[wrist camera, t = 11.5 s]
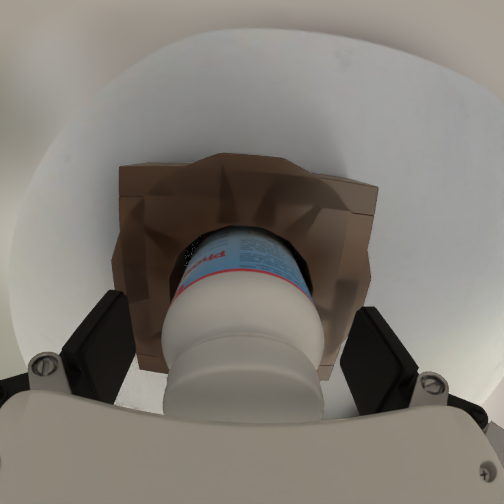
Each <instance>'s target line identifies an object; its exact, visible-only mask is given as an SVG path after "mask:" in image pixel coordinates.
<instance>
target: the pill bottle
mask: <svg viewBox="0 0 504 504" xmlns="http://www.w3.org/2000/svg"><path fill="white" fill-rule="evenodd" d="M161 342H162V350H163V355H164V358H165V361H166V363H167V366H168V368H169V373H168V377H167V386H166V389H165V393H164V398H163V412H164V415H168V416H175V417H182V418H190V419H200V420H210V421H223V422H244V423H289V422H309V421H320V420H321V418H322V415H323V412H324V400H323V394H322V391H321V387H320V382H319V376H318V373H317V371H316V370H317V368H318V366H319V364H320V361H321V358H322V355H323V350H324V332H323V327H322V323H321V320H320V317H319V315H318V312H317V310H316V307H315V305H314V302H313V300H312V298H311V295H310V293H309V291H308V288H307V286H306V284H305V281H304V279H303V277H302V274H301V272H300V270H299V268H298V265H297V263H296V261H295V259H294V256H293V254H292V252H291V250H290V248H289V246H288V244H287V242H286V241H285V239H284V238H282V237H280V236H278V235H276V234H274V233H272V232H270V231H268V230H266V229H264V228H261V227H248V226H234V225H229V226H226V227H223V228H220V229H217V230H214V231H211V232H208V233H206V234H205V235H204V236H203V237H202V238H201V240H200V241H199V243H198V245H197V247H196V249H195V250H194V253H193V255H192V257H191V260H190V262H189V264H188V266H187V268H186V270H185V273H184V275H183V277H182V279H181V282H180V284H179V286H178V288H177V290H176V293H175V295H174V298H173V300H172V302H171V305H170V307H169V309H168V312H167V314H166V318H165V320H164V324H163V328H162V336H161Z"/></svg>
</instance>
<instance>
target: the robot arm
mask: <svg viewBox="0 0 504 504" xmlns="http://www.w3.org/2000/svg"><path fill="white" fill-rule="evenodd" d="M135 354H136V344H135V339H134V333H133V328H132V322H131V316H130V309H129V302H128V297H127V295H124V293H123V292H122V291H117V290H108V292H107V293H106V294H105V295H104V296H103V297H102V299H101V300H100V301H99V302H98V303H97V305H96V306H95V307H94V308H93V309H92V311H91V312H90V313H89V314H88V315H87V317H86V318H85V319H84V320H83V322H82V323H81V324H80V325H79V327H78V328H77V329H76V331H75V332H74V333H73V334H72V336H71V337H70V338H69V340H68V341H67V342H66V344H65V345H64V346H63V347H62V351H61V353H60V354H59V355H58V354H56V353H54V352H42V353H39V354H37V355H36V356H34V357H33V358H32V359H31V360H30V362H29V364H28V372H27V373H24V374H20V375H17V376H14V377H10V378H7V379H3V380H0V504H504V429H502V428H501V427H499V426H498V425H497V424H495V423H494V422H492V421H491V422H490V423H488V416H487V413H486V412H485V410H484V409H483V408H482V407H480V406H478V405H476V404H474V403H471V402H468V401H466V400H463V399H461V398H458V397H456V396H453V395H451V394H449V393H448V392H449V386H448V383H447V381H446V380H445V379H444V378H443V377H442V376H441V375H439V374H437V373H434V372H423V373H421V374H420V375H419V374H418V372H417V370H418V368H419V367H418V366H417V364H416V363H415V361H414V360H413V358H412V357H411V355H410V354H409V353H408V351H407V350H406V348H405V347H404V345H403V344H402V343H401V341H400V340H399V339H398V337H397V336H396V334H395V333H394V332H393V330H392V329H391V328H390V326H389V325H388V323H387V322H386V321H385V319H384V318H383V317H382V315H381V314H380V313H379V311H378V310H377V309H376V308H375V307H361V308H360V309H359V310H357V311H356V313H355V316H354V319H353V323H352V326H351V329H350V332H349V335H348V338H347V341H346V344H345V347H344V350H343V353H342V355H341V358H340V366H341V369H342V371H343V374H344V376H345V379H346V381H347V384H348V386H349V389H350V391H351V394H352V396H353V399H354V401H355V404H356V407H357V409H358V412H359V414H360V416H357V417H350V418H342V419H333V420H322V421H309V422H289V423H244V422H223V421H210V420H200V419H190V418H182V417H175V416H168V415H162V414H156V413H150V412H145V411H140V410H135V409H130V408H125V407H120V406H116V405H113V404H114V402H115V400H116V397H117V395H118V393H119V390H120V388H121V386H122V383H123V381H124V379H125V376H126V374H127V372H128V370H129V367H130V365H131V363H132V361H133V359H134V356H135Z"/></svg>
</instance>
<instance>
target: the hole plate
mask: <svg viewBox="0 0 504 504" xmlns="http://www.w3.org/2000/svg"><path fill="white" fill-rule="evenodd" d="M377 195H378V187H376V186H373V185H370V184H366V183H363V182H359V181H356V180H352V179H348V178H342V177H336V176H329V175H322V174H315V173H309V172H308V171H306V170H304V169H302V168H301V167H299V166H297V165H295V164H293V163H292V162H290V161H288V160H286V159H283V158H279V157H269V156H259V155H247V154H233V153H219V154H216V155H213V156H210V157H207V158H205V159H202V160H199V161H196V162H194V163H160V162H148V163H140V164H132V165H125V166H120V167H119V221H120V233H119V237H118V240H117V243H116V246H115V250H114V253H113V257H112V260H111V261H112V262H111V263H112V271H113V279H114V287H115V290H117V291H122V292H123V293H124V295H127V297H128V302H129V309H130V316H131V322H132V328H133V333H134V339H135V344H136V355H137V360H138V364H139V369H140V370H146V371H152V372H159V373H165V374H168V373H169V368H168V366H167V363H166V361H165V358H164V355H163V350H162V342H161V336H162V328H163V324H164V320H165V318H166V314H167V312H168V309H169V307H170V305H171V302H172V300H173V298H174V295H175V293H176V290H177V288H178V286H179V284H180V282H181V279H182V277H183V275H184V273H185V249H186V248H187V247H188V246H189V245H190V244H191V243H192V242H194V241H195V240H196V239H197V238H198V237H199V236H200V235H202V234H205V233H208V232H211V231H214V230H217V229H220V228H223V227H226V226H229V225H234V226H248V227H261V228H264V229H266V230H268V231H270V232H272V233H274V234H276V235H278V236H280V237H282V238H284V239H286V240H287V241H289V242H290V243H291V244H292V246H293V247H294V248H295V249H296V252H297V256H298V268H299V270H300V272H301V274H302V277H303V279H304V281H305V284H306V286H307V288H308V291H309V293H310V295H311V298H312V300H313V302H314V305H315V307H316V310H317V312H318V315H319V317H320V320H321V323H322V327H323V332H324V350H323V355H322V358H321V361H320V364H319V366H318V368H317V370H316V371H317V373H318V376H319V381H323V380H329V377H330V375H331V372H332V369H333V367H334V364H335V361H336V358H337V355H338V352H339V349H340V347H341V344H342V342H343V341H344V340H345V339H346V337H347V336H348V335H349V332H350V329H351V326H352V323H353V319H354V316H355V313H356V311H357V310H359V309H360V308H361V307H363V305H364V302H365V298H366V295H367V291H368V288H369V284H370V281H371V280H370V279H371V274H370V266H369V258H368V251H367V249H368V244H369V239H370V234H371V229H372V224H373V219H374V216H373V215H374V213H375V207H376V201H377Z"/></svg>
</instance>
